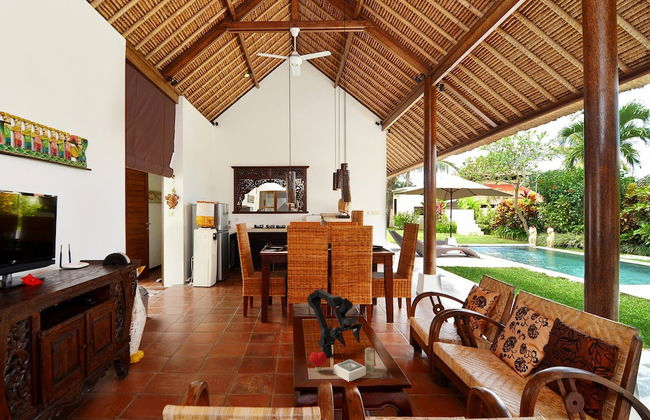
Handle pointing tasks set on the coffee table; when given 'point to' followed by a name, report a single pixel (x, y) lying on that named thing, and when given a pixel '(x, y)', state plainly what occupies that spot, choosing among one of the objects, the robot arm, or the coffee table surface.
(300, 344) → the coffee table surface
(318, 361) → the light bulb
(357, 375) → the socket block
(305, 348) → the coffee table surface
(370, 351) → the beech pin
